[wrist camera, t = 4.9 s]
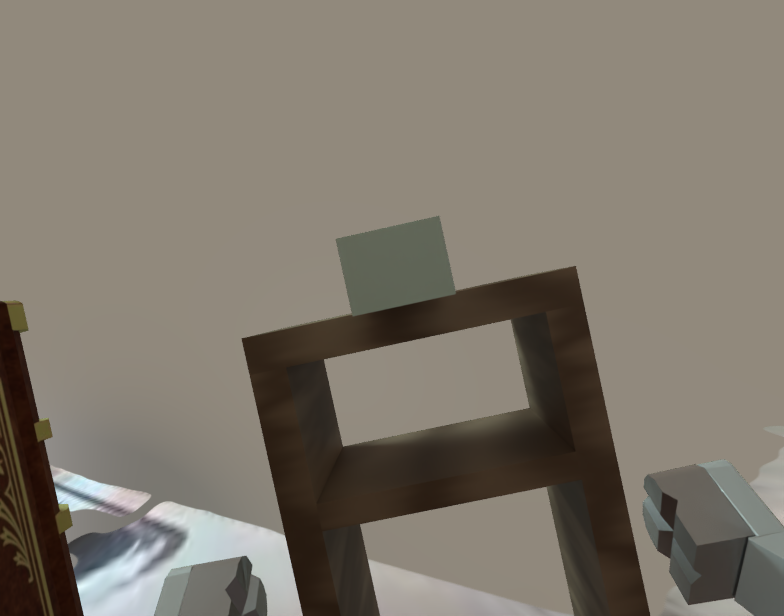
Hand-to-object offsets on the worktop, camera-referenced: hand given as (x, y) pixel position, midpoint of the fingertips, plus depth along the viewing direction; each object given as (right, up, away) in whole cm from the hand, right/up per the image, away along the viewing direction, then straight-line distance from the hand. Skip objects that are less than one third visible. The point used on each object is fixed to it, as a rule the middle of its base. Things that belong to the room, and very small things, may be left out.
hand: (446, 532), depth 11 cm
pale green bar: (0, +5, +19) cm, 19 cm away
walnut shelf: (+5, -20, +23) cm, 31 cm away
